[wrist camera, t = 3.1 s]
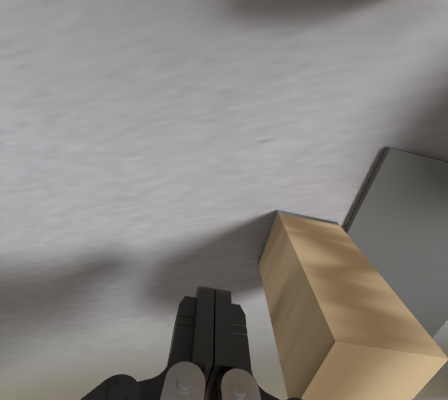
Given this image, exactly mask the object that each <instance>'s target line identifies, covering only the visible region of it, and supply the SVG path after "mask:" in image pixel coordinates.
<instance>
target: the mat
mask: <svg viewBox="0 0 448 400" xmlns="http://www.w3.org/2000/svg"><path fill="white" fill-rule="evenodd" d="M345 232H346V234H347V235H348V236H349V237H350V239H351V240H352V241H353V242H354V243H355V245H356V246H357V247H358V248H359V250H360V251H361V252H362V253H363V254H364V256H365V257H366V258H367V259H368V261H369V262H370V263H371V264H372V265H373V267H374V268H375V269H376V270H377V272H378V273H379V274H380V275H381V276H382V278H383V279H384V280H385V281H386V283H387V284H388V285H389V286H390V287H391V289H392V290H393V291H394V292H395V294H396V295H397V296H398V297H399V298H400V300H401V301H402V302H403V303H404V305H405V306H406V307H407V308H408V309H409V311H410V312H411V313H412V314H413V315H414V317H415V318H416V319H417V320H418V322H419V323H420V324H421V325H422V326H423V328H424V329H425V330H426V331H427V333H428V334H429V335H430V336H431V337H433V336H434V335H435V334H436V332H437V331H438V330H439V329H440V328H441V326H442V325H443V324H444V323H445V321H446V320H447V319H448V162H445V161H441V160H437V159H433V158H429V157H426V156H422V155H418V154H414V153H410V152H406V151H402V150H398V149H394V148H390V147H386V149H385V151H384V153H383V155H382V157H381V159H380V161H379V163H378V165H377V167H376V169H375V171H374V173H373V175H372V177H371V179H370V181H369V183H368V185H367V187H366V189H365V191H364V193H363V195H362V197H361V199H360V201H359V203H358V205H357V207H356V209H355V211H354V213H353V215H352V217H351V219H350V221H349V223H348V225H347V227H346V229H345Z"/></svg>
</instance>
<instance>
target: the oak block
mask: <svg viewBox="0 0 448 400" xmlns="http://www.w3.org/2000/svg"><path fill="white" fill-rule="evenodd" d="M258 264H259V268H260V273H261V277H262V282H263V286H264V291H265V295H266V300H267V305H268V309H269V314H270V318H271V323H272V327H273V332H274V336H275V341H276V346H277V350H278V355H279V359H280V364H281V368H282V373H283V377H284V382H285V387H286V391H287V396H288V399H289V398H292V397H297V398H301V399H303V400H413V398H414V397H415V396H416V395H417V394H418V393H419V392H420V391H421V390H422V388H423V387H424V386H425V385H426V384H427V383H428V382H429V381H430V379H431V378H432V377H433V376H434V375H435V374H436V373H437V372H438V371H439V369H440V368H441V367H442V366H443V365H444V364H445V363H446V362H447V361H448V357H447V356H446V355H445V353H444V352H443V351H442V350H441V348H440V347H439V346H438V345H437V344H436V342H435V341H434V340H433V339H432V337H431V336H430V335H429V334H428V333H427V331H426V330H425V329H424V328H423V326H422V325H421V324H420V323H419V322H418V320H417V319H416V318H415V317H414V315H413V314H412V313H411V312H410V311H409V309H408V308H407V307H406V306H405V305H404V303H403V302H402V301H401V300H400V298H399V297H398V296H397V295H396V294H395V292H394V291H393V290H392V289H391V287H390V286H389V285H388V284H387V283H386V281H385V280H384V279H383V278H382V276H381V275H380V274H379V273H378V272H377V270H376V269H375V268H374V267H373V265H372V264H371V263H370V262H369V261H368V259H367V258H366V257H365V256H364V254H363V253H362V252H361V251H360V250H359V248H358V247H357V246H356V245H355V243H354V242H353V241H352V240H351V239H350V237H349V236H348V235H347V234H346V232H345V231H344V230H343V229H342V228H341V226H340V225H339V224H338V223H337V222H332V221H327V220H323V219H318V218H313V217H308V216H304V215H299V214H294V213H290V212H285V211H280V210H277V211H276V214H275V217H274V219H273V222H272V225H271V228H270V230H269V233H268V236H267V239H266V241H265V244H264V247H263V250H262V252H261V255H260V258H259V261H258Z"/></svg>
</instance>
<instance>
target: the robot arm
mask: <svg viewBox="0 0 448 400" xmlns="http://www.w3.org/2000/svg"><path fill="white" fill-rule="evenodd" d="M81 400H279V399H277V398H275V397H273V396H271V395H269V394H268V393H266V392H265V391H263V390H262V389H261V388H260V387H259V385H258V384H257V382H256V380H255V379H254V377H253V375H252V371H251V363H250V354H249V345H248V336H247V328H246V318H245V314H244V312H243V310H242V308H241V306H240V305H237V304H231V292H230V291H225V290H220V289H213V288H207V287H202V286H198V289H197V293H196V297H189V296H185V297H184V299H183V300H182V301H181V303H180V304H179V308H178V312H177V316H176V321H175V325H174V330H173V336H172V341H171V347H170V353H169V358H168V364H167V367H166V369H165V370H164V371H163V372H162V373H161V374H160V375H158V376H156V377H154V378H152V379H148V380H144V381H139V382H137V381H136V380H135V379H134V378H133V377H131V376H128V375H124V374H119V375H115V376H112V377H110V378H108V379H106V380H105V381H104V382H102V383H101V384H100V385H99V386H97V387H96V388H95V389H93V390H92V391H91V392H90V393H88V394H87V395H86V396H85V397H83V398H82V399H81ZM287 400H303V399H301V398H297V397H292V398H289V399H287Z"/></svg>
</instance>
